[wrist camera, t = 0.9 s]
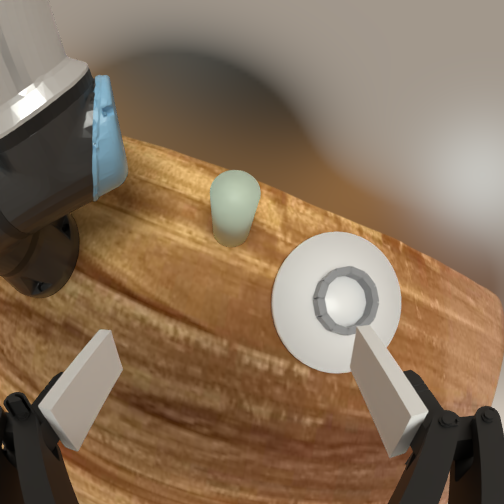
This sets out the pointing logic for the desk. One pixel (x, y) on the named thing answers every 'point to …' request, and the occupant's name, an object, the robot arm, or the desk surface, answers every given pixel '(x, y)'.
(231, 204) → the sage green cylinder
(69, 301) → the desk surface
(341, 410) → the desk surface
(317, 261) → the carrier plate
